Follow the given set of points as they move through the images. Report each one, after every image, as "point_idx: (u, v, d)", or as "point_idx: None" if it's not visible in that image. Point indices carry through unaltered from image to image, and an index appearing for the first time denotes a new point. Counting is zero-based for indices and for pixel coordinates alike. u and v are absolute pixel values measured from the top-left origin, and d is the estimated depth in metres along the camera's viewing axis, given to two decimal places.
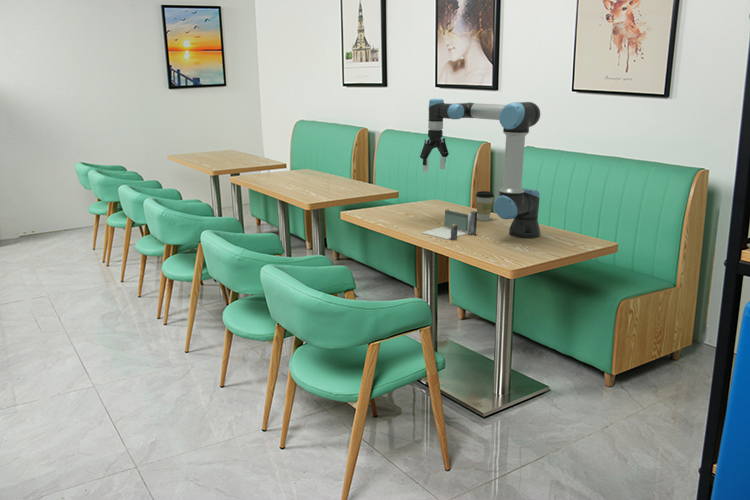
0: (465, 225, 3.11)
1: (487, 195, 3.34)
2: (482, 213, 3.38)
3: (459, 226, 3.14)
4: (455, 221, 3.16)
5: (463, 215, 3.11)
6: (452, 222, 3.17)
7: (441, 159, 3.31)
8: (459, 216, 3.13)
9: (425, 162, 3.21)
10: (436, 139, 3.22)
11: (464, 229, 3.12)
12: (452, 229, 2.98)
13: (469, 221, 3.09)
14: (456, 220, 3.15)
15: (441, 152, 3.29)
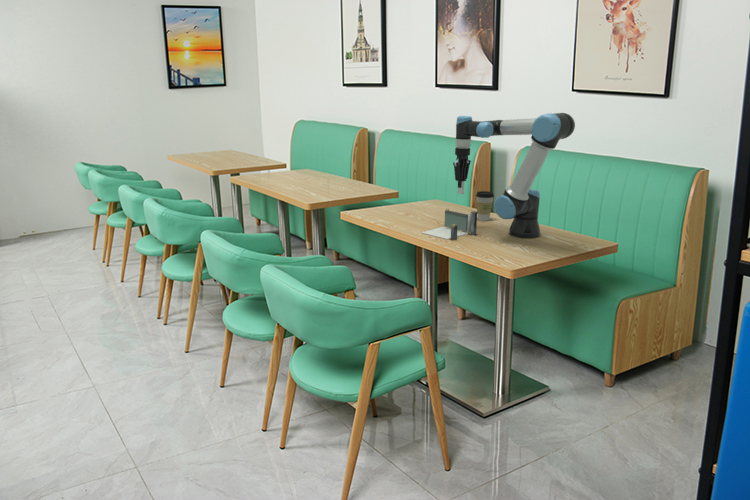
0: (465, 225, 3.11)
1: (487, 195, 3.34)
2: (482, 213, 3.38)
3: (459, 226, 3.14)
4: (455, 221, 3.16)
5: (463, 215, 3.11)
6: (452, 222, 3.17)
7: None
8: (459, 216, 3.13)
9: (460, 184, 3.16)
10: (463, 157, 3.12)
11: (464, 229, 3.12)
12: (452, 229, 2.98)
13: (469, 221, 3.09)
14: (456, 220, 3.15)
15: None
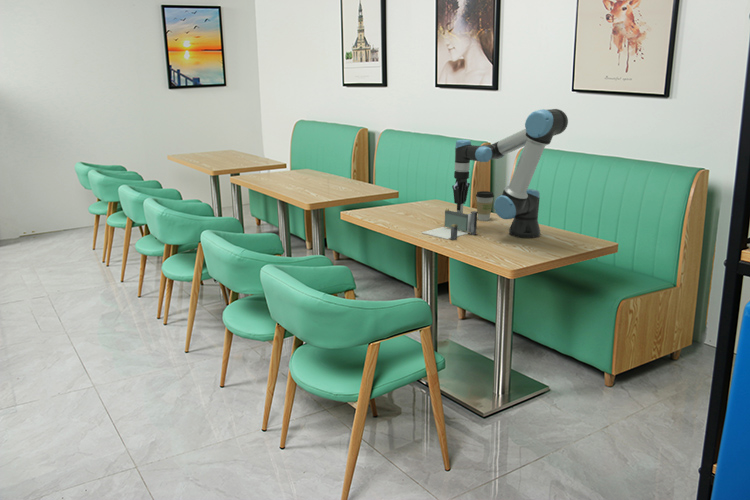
0: (465, 225, 3.11)
1: (487, 195, 3.34)
2: (482, 213, 3.38)
3: (459, 226, 3.14)
4: (455, 221, 3.16)
5: (463, 215, 3.11)
6: (452, 222, 3.17)
7: None
8: (459, 216, 3.13)
9: (459, 207, 3.19)
10: (463, 180, 3.15)
11: (464, 229, 3.12)
12: (452, 229, 2.98)
13: (469, 221, 3.09)
14: (456, 220, 3.15)
15: None
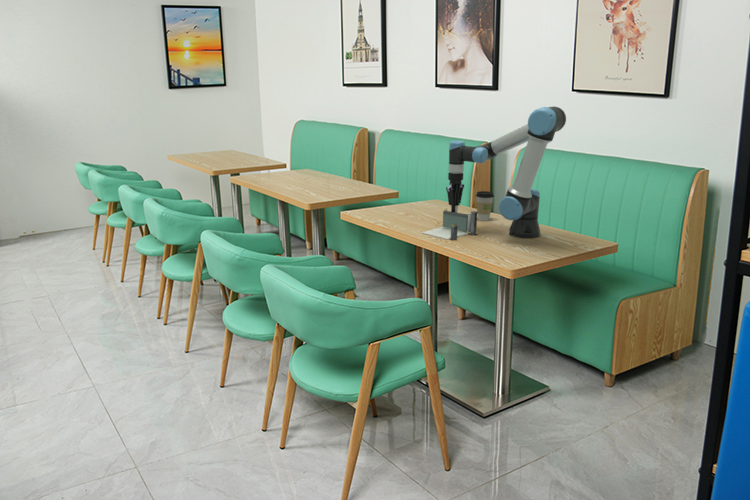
0: (465, 225, 3.11)
1: (487, 195, 3.34)
2: (482, 213, 3.38)
3: (458, 226, 3.14)
4: (454, 221, 3.15)
5: (463, 215, 3.11)
6: (451, 222, 3.16)
7: None
8: (458, 216, 3.13)
9: (454, 209, 3.15)
10: (457, 182, 3.12)
11: (464, 229, 3.12)
12: (452, 229, 2.98)
13: (469, 221, 3.09)
14: (455, 221, 3.14)
15: None
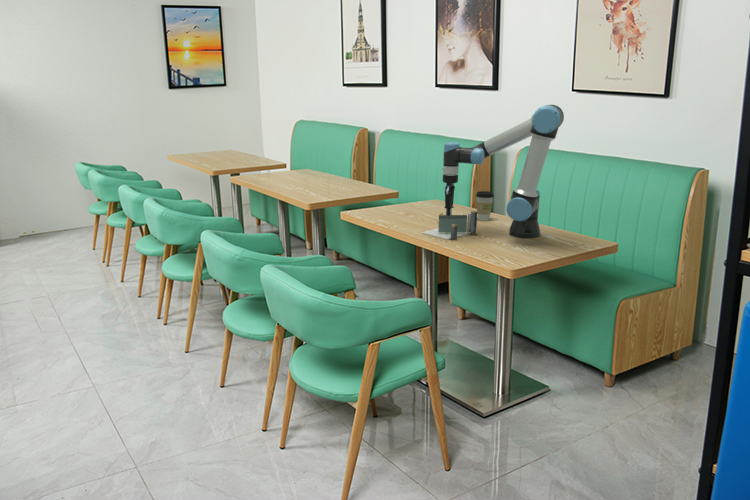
0: (465, 226, 3.10)
1: (487, 195, 3.34)
2: (482, 213, 3.38)
3: (458, 228, 3.10)
4: None
5: (463, 216, 3.08)
6: (449, 226, 3.09)
7: None
8: (458, 218, 3.08)
9: (449, 212, 3.09)
10: (452, 184, 3.06)
11: (464, 230, 3.10)
12: (452, 229, 2.98)
13: (470, 221, 3.09)
14: (454, 223, 3.09)
15: None
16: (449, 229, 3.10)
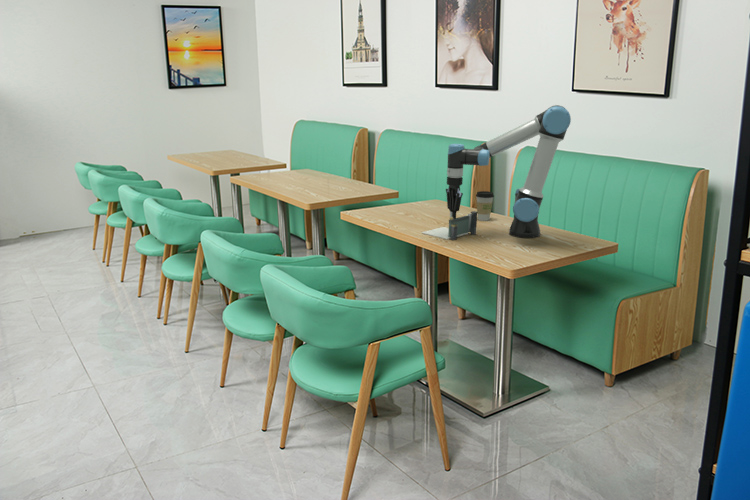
0: (467, 226, 3.09)
1: (487, 195, 3.34)
2: (482, 213, 3.38)
3: (463, 230, 3.06)
4: (459, 227, 3.04)
5: (466, 217, 3.06)
6: (457, 229, 3.03)
7: None
8: (463, 220, 3.05)
9: None
10: None
11: (467, 231, 3.09)
12: (452, 229, 2.98)
13: None
14: (460, 226, 3.04)
15: None
16: (457, 232, 3.04)
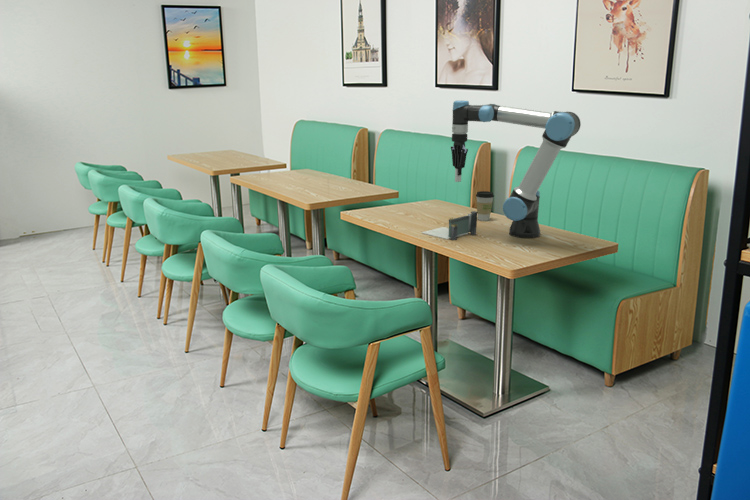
0: (467, 226, 3.09)
1: (487, 195, 3.34)
2: (482, 213, 3.38)
3: (463, 230, 3.06)
4: (459, 227, 3.04)
5: (466, 217, 3.06)
6: (457, 229, 3.03)
7: None
8: (463, 220, 3.05)
9: None
10: None
11: (467, 231, 3.09)
12: (452, 229, 2.98)
13: None
14: (460, 226, 3.04)
15: None
16: (457, 232, 3.04)
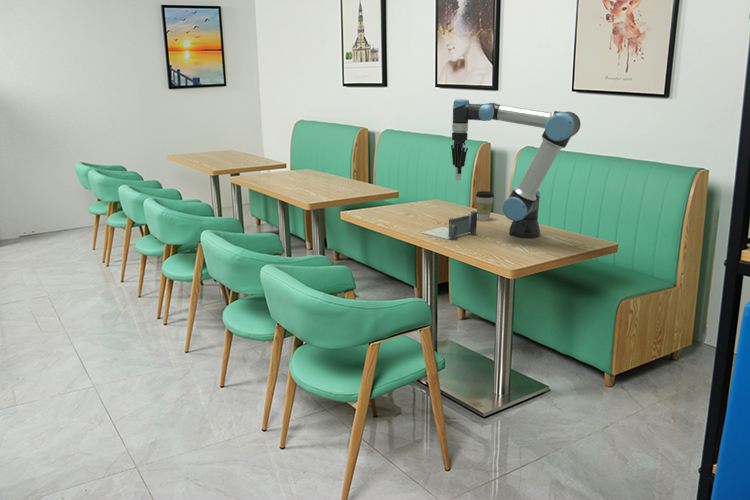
0: (467, 226, 3.09)
1: (487, 195, 3.34)
2: (482, 213, 3.38)
3: (463, 230, 3.06)
4: (459, 227, 3.04)
5: (466, 217, 3.06)
6: (457, 229, 3.03)
7: None
8: (463, 220, 3.05)
9: None
10: None
11: (467, 231, 3.09)
12: (452, 229, 2.98)
13: None
14: (460, 226, 3.04)
15: None
16: (457, 232, 3.04)
